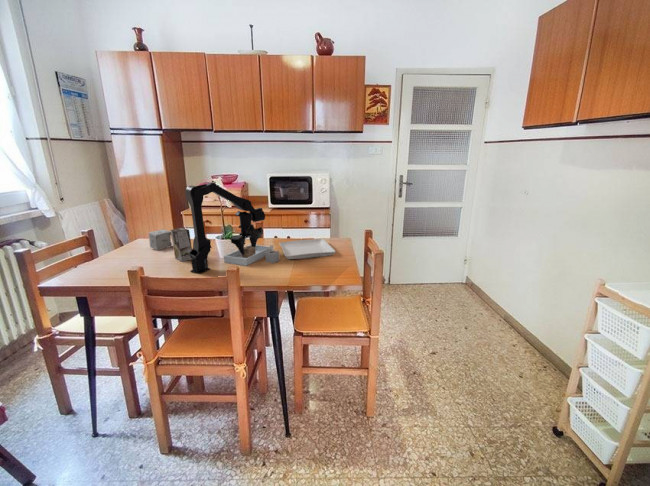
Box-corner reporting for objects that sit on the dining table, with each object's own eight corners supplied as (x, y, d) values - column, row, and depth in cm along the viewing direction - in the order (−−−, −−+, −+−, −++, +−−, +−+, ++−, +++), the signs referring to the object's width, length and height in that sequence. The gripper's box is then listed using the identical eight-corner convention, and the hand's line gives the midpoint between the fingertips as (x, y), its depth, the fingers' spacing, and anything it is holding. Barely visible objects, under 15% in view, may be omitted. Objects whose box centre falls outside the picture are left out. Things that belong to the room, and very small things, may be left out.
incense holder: (158, 250, 174) (155, 233, 172) (150, 249, 178) (146, 232, 175) (173, 246, 183) (170, 230, 180) (165, 244, 187) (162, 228, 184)
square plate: (285, 263, 151) (285, 255, 150) (279, 248, 177) (278, 241, 176) (336, 257, 158) (336, 250, 157) (322, 243, 184) (322, 237, 182)
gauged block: (274, 263, 150) (272, 247, 148) (265, 262, 152) (264, 246, 150) (279, 260, 155) (278, 244, 152) (271, 259, 157) (270, 243, 154)
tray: (246, 266, 147) (245, 259, 146) (224, 262, 153) (223, 256, 152) (271, 253, 166) (271, 246, 165) (251, 250, 172) (250, 244, 171)
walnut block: (242, 257, 158) (241, 248, 157) (248, 254, 162) (247, 245, 161) (249, 258, 156) (248, 249, 155) (255, 255, 160) (254, 246, 159)
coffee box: (194, 259, 159) (189, 229, 155) (181, 262, 155) (176, 232, 150) (186, 255, 165) (182, 227, 161) (174, 258, 161) (169, 229, 156)
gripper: (246, 228, 143) (249, 259, 147) (269, 220, 159) (271, 248, 163) (228, 226, 147) (232, 256, 152) (252, 219, 163) (254, 246, 168)
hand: (248, 252), depth 158 cm, fingers open, 9 cm apart
